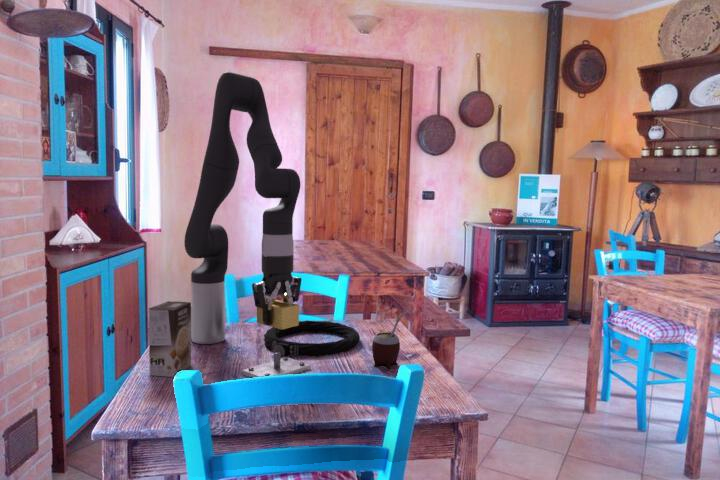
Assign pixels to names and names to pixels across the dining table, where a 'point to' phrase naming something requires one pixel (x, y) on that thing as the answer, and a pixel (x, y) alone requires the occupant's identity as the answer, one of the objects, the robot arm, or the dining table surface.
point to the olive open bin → (281, 315)
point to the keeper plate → (272, 371)
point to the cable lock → (312, 348)
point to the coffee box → (169, 338)
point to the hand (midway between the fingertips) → (277, 322)
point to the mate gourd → (386, 348)
